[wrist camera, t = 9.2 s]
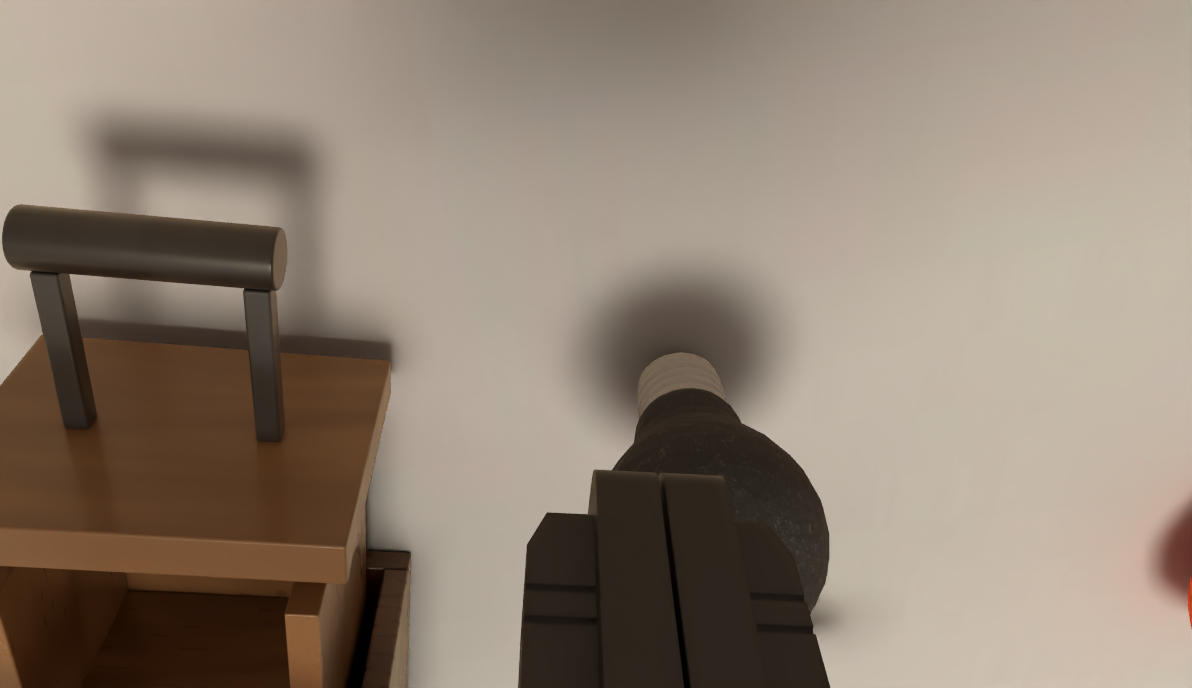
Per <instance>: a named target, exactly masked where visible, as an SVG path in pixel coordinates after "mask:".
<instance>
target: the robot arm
mask: <svg viewBox="0 0 1192 688" xmlns="http://www.w3.org/2000/svg"><path fill="white" fill-rule="evenodd" d="M804 595H805V594H804V591H803V587H802V583H801V580H800V576H799V573H798V569H797V565H796V562H795V558H794V556H793V555H792V553H791V552H790V551H789V550H788V548H787V547H786V546H785V545H784V543H783V542H782V541H781V540H780V538H779V537H778V536H777V535H776V533H775V532H774V531H773V530H772V528H771V527H770V526H769V525H768V523H757V522H737V521H734V518H733V513H732V508H731V503H730V499H729V494H728V489H727V485H726V482H725V479H724V478H723V476H714V475H695V474H675V473H660V474H659V476H657V474H656V473H651V472H632V471H612V470H594V471H593V476H592V483H591V491H590V500H589V509H588V515H587V514H566V513H547V514H546V515H545V517H544V518H543V520H542V522H541V523H540V525H539V526H538V528H537V530H536V531H535V533H534V534H533V536H532V538H531V539H530V541H529V542H528V544H527V553H526V568H525V582H524V597H523V611H522V626H521V642H520V662H519V682H518V688H830V685H829V682H828V678H827V674H826V671H825V667H824V663H823V660H822V656H821V652H820V649H819V645H818V642H817V638H816V634H813V623H812V620H811V616H810V612H809V609H808V605H807V602H805V601H804Z"/></svg>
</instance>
